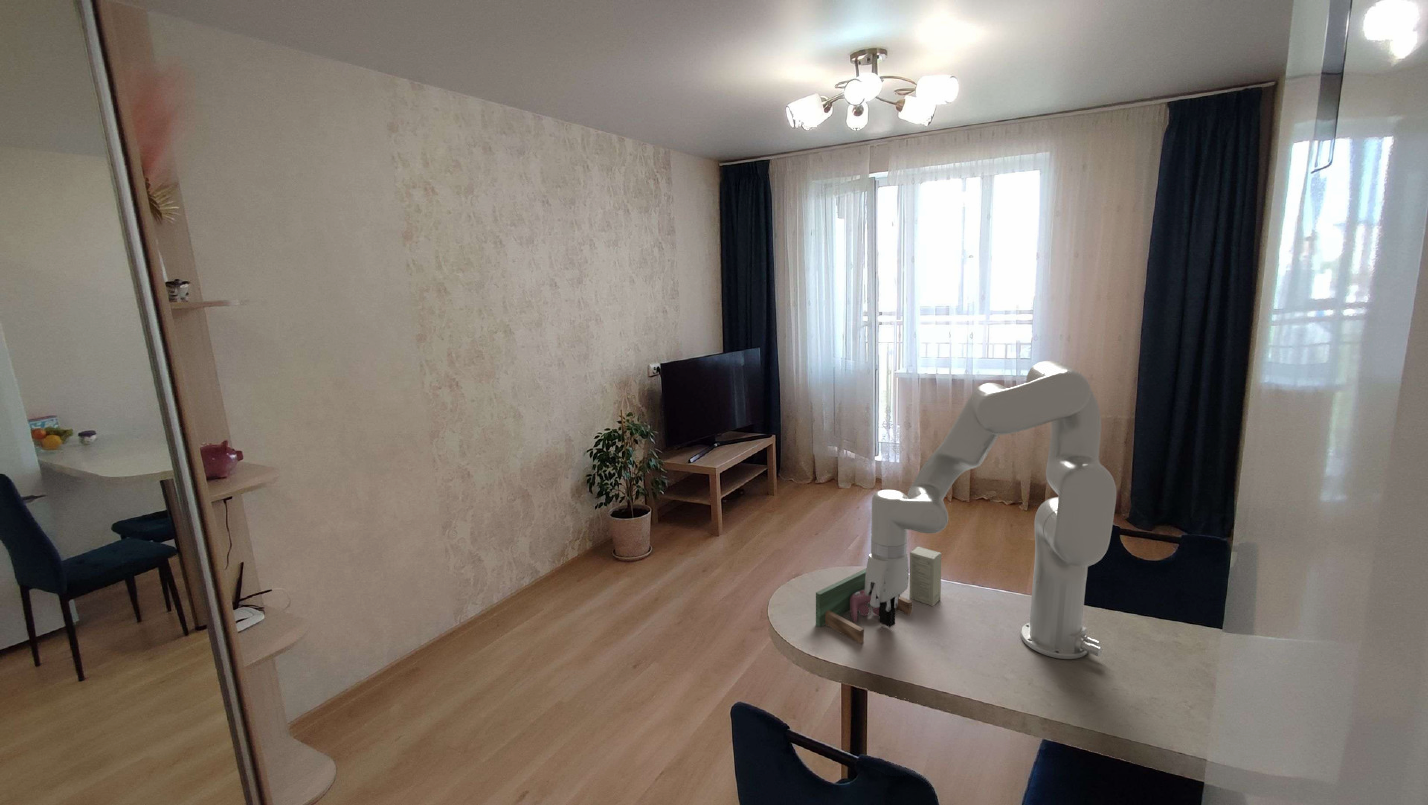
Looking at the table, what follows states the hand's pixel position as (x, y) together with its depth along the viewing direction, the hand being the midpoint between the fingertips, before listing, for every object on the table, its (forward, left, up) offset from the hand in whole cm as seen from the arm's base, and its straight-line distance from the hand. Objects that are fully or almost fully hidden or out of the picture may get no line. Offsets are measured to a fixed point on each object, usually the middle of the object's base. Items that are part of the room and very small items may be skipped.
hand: (886, 623), depth 140 cm
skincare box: (+2, -17, -1) cm, 17 cm away
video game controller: (+5, -1, -1) cm, 5 cm away
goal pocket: (+5, 0, -1) cm, 5 cm away
